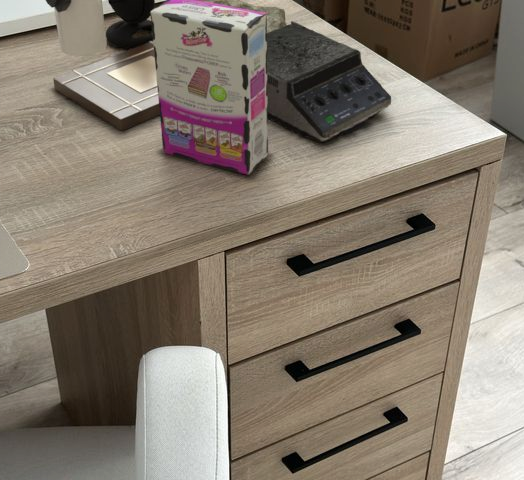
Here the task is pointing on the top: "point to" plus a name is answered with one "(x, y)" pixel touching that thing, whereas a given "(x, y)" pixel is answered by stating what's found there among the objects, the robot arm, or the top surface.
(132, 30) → the webcam
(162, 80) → the candy bar box
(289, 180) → the top surface
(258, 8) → the rock
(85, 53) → the white cylinder
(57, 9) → the robot arm
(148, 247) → the top surface
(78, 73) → the grid board
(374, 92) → the electronic device
